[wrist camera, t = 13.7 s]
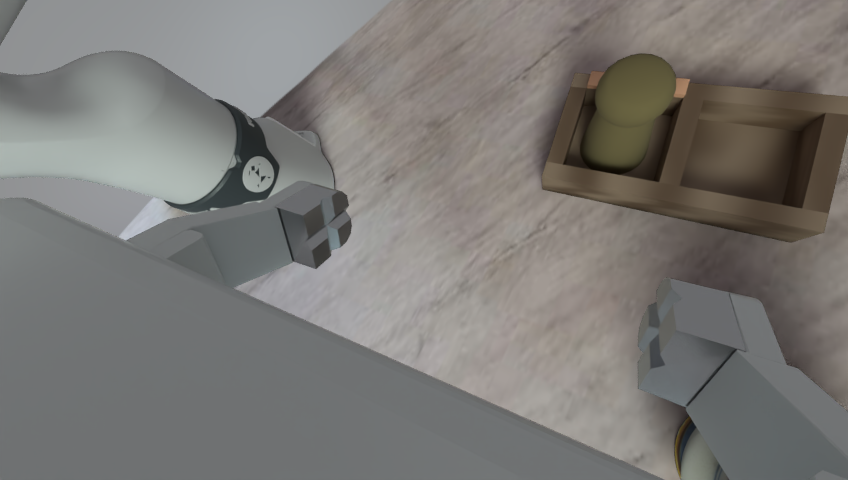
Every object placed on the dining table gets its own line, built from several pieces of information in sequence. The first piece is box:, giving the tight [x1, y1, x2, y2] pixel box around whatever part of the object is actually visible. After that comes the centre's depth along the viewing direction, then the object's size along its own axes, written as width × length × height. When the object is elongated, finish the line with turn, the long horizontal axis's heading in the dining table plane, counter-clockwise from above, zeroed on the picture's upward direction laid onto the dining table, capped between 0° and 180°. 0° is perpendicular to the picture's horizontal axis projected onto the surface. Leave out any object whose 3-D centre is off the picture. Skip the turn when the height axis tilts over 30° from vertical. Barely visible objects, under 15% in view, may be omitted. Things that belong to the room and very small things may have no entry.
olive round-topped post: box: [580, 54, 676, 175], centre depth 30 cm, size 6×6×11 cm
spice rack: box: [542, 71, 848, 242], centre depth 32 cm, size 20×11×4 cm, turn 71°
